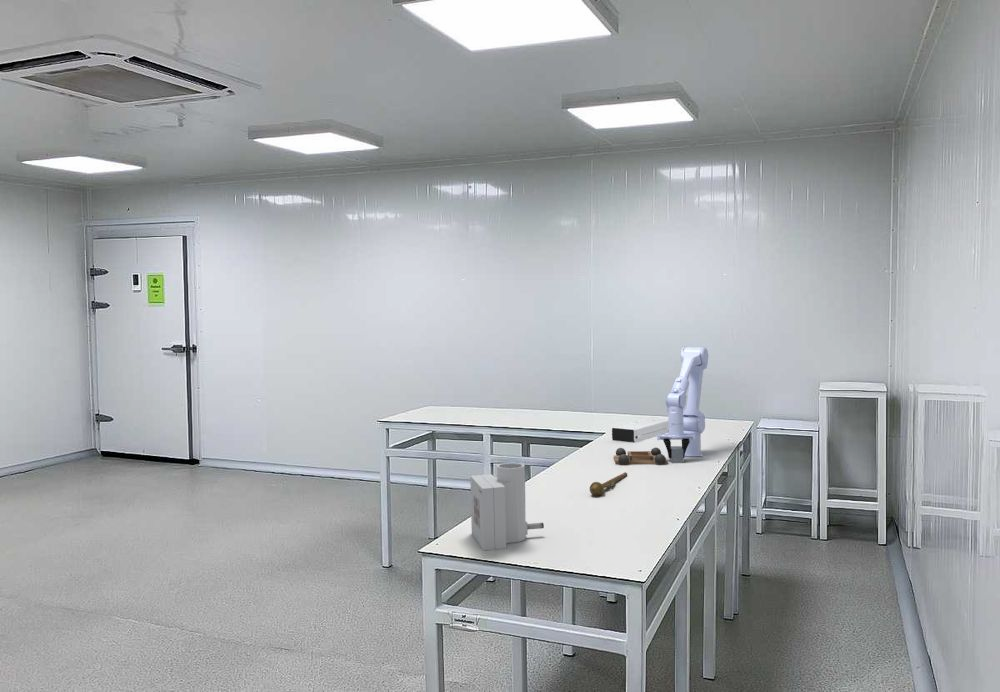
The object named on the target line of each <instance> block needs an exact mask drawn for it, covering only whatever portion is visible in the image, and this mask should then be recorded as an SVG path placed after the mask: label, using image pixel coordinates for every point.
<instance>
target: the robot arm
mask: <svg viewBox="0 0 1000 692" xmlns="http://www.w3.org/2000/svg"><path fill="white" fill-rule="evenodd" d="M680 359H681V363H682V364H681V367H680V372H679V376H678V377H676V378H675V380H674V383H673V385H672V388H671V390H670V392H669V393H667V395H666V398H665V405H666V410H667V413H668V420H669V432H668V433H665V434H657V436H656V438H657V440H658V441H661V440H662V441H663V443H664V446H665V448H666V451H667V455H668V459H670V458H671V445H672V442H671V440H675V441H676V440H678V441H679V440H681V447H682V448H683V459H685V457H703V456H704V454H702V452H701V450H702V449H701V448H702V447H701V446H702V444H701V443H702V442H701V441H702V440H701V437H702V436H701V434H703V432H704V431H705V429H706V415H704V413H703V412H702V411H701V410H700V409H699V408H700V402H701V401H700V400H701V394H702V393H701V391H702V384H703V377H704V376H703V375H704V370H706V369H707V368H708V363H709V352H708V349H707V348H706V347H705V346H701V347H698V346H697V347H696V346H695V347H694V346H691V347H690V346H683V347H682V348H681V349H680ZM687 393H688V394H687ZM685 406H686V408H685Z"/></svg>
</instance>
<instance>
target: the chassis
mask: <svg viewBox="0 0 1000 692" xmlns="http://www.w3.org/2000/svg"><path fill="white" fill-rule="evenodd" d="M613 461H614V463H615V465H622V466H626V465H658V466H662V465H668V464H669V462H668V459H667V457H666V456H665V455H664V454H662V451H661V449H660V448H658V447H652V448H651V449H650V451H649V450H646V451H645V450H643V451H640V450H639V451H638V450H636V451H635V450H634V451H633V450H632V451H626V449H624V448H623V447H618V448H617V449H616V450H615V455H613Z"/></svg>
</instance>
